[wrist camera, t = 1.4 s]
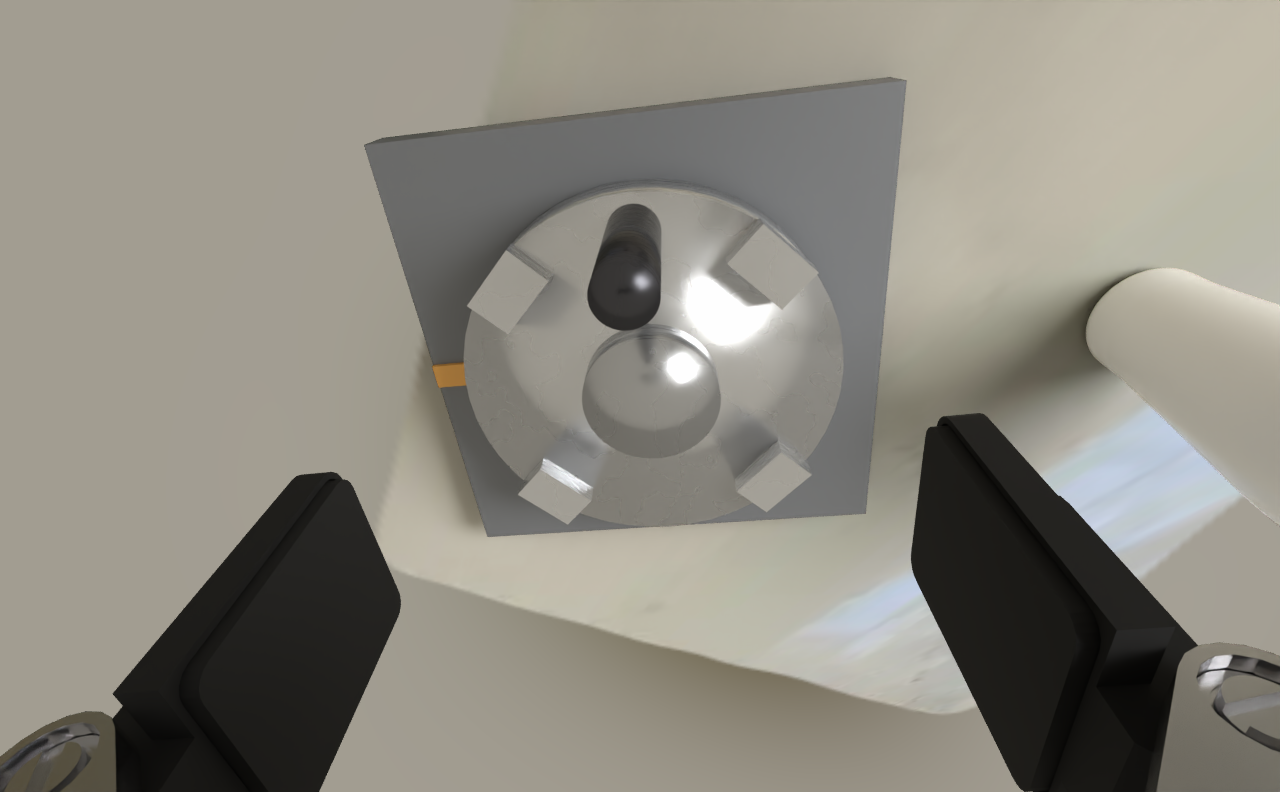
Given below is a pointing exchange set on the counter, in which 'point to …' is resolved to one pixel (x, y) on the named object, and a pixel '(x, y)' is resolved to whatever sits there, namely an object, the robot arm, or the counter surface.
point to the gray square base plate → (675, 150)
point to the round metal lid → (653, 356)
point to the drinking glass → (1201, 369)
